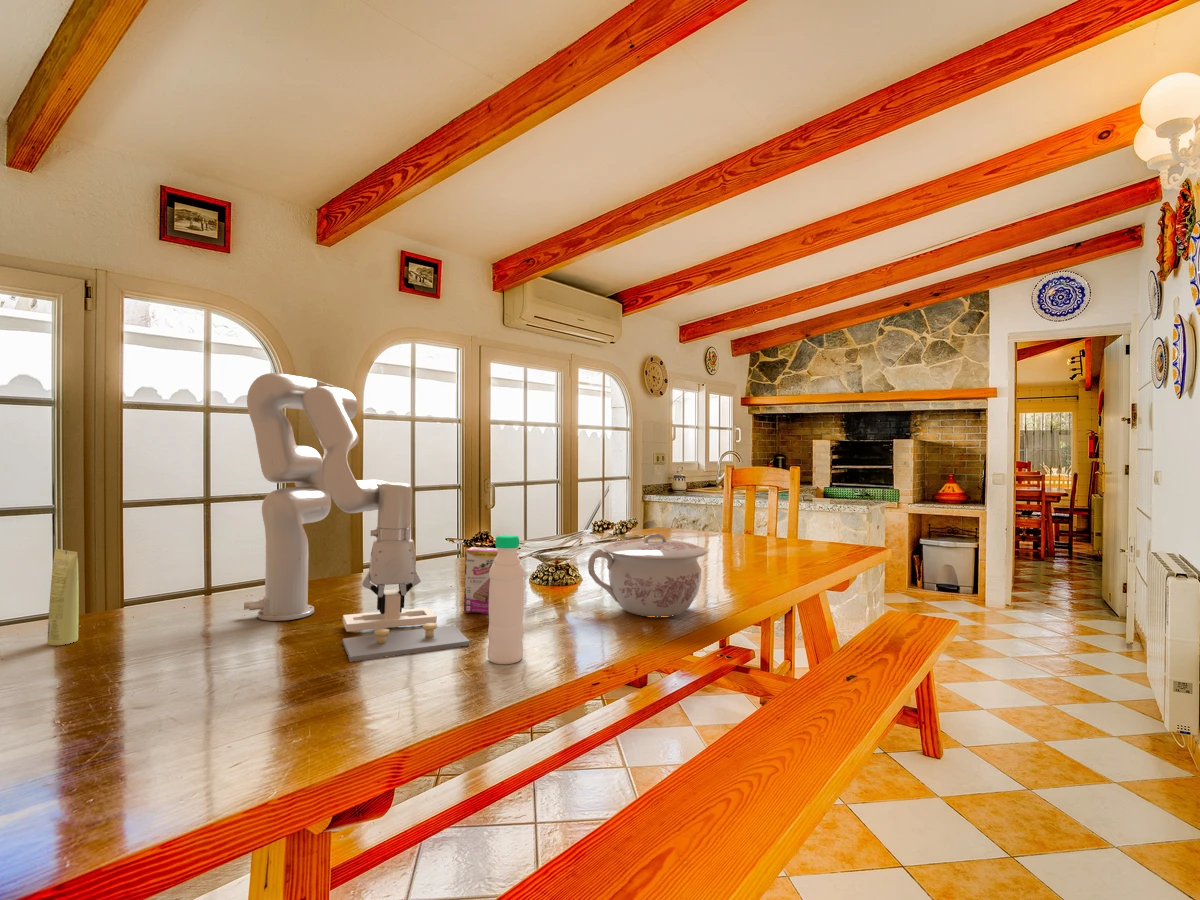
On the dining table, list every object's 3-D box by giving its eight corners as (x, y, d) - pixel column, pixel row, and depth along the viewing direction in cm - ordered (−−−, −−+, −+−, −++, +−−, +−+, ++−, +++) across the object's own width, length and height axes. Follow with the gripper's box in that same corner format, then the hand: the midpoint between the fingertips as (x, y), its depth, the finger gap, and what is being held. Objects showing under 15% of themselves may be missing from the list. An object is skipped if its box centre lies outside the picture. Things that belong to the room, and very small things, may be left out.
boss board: (350, 662, 122) (350, 643, 122) (342, 643, 134) (342, 626, 134) (469, 645, 134) (469, 628, 134) (453, 629, 145) (453, 614, 145)
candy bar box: (463, 613, 159) (464, 549, 159) (469, 608, 164) (470, 546, 164) (506, 615, 158) (507, 551, 158) (510, 610, 163) (511, 548, 163)
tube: (86, 637, 134) (87, 547, 134) (75, 645, 129) (77, 551, 129) (53, 640, 132) (55, 548, 132) (41, 647, 127) (43, 552, 127)
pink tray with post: (346, 631, 139) (348, 600, 139) (342, 621, 146) (344, 592, 146) (436, 623, 148) (437, 593, 148) (428, 614, 156) (429, 586, 155)
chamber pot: (722, 608, 169) (723, 532, 169) (678, 632, 146) (680, 544, 146) (632, 593, 184) (633, 524, 184) (580, 613, 161) (581, 534, 161)
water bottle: (528, 656, 128) (530, 534, 128) (512, 667, 121) (515, 539, 121) (498, 651, 130) (500, 532, 130) (481, 662, 123) (483, 536, 123)
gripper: (358, 538, 140) (355, 619, 140) (432, 536, 148) (429, 613, 148) (354, 533, 146) (351, 610, 147) (425, 531, 154) (422, 605, 154)
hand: (390, 611), depth 147 cm, fingers closed on pink tray with post, 3 cm apart
